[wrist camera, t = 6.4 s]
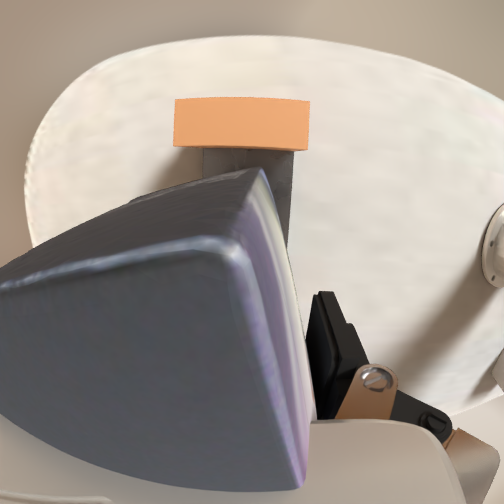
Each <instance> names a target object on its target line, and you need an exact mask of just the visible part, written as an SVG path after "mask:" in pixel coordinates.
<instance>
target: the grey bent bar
mask: <svg viewBox="0 0 504 504" xmlns="http://www.w3.org/2000/svg"><path fill="white" fill-rule="evenodd" d="M293 160H294V151H285V150H269V149H247V148H203V178H208V177H212V176H216V175H220V174H223V173H228V172H233V171H238V170H242V169H248V168H252V167H261V168H262V169H263V170H264V172H265V175H266V178H267V181H268V183H269V186H270V189H271V192H272V195H273V199H274V202H275V205H276V209H277V213H278V216H279V220H280V224H281V228H282V231H283V236H284V240H285V244H286V248H287V242H288V230H289V218H290V205H291V191H292V176H293Z"/></svg>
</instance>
